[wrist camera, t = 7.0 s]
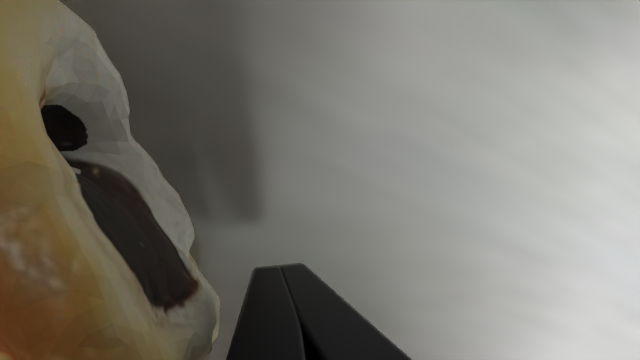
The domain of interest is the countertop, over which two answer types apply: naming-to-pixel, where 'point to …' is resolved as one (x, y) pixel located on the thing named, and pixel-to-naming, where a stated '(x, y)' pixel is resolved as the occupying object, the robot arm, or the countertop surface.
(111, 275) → the pastry
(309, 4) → the countertop surface
